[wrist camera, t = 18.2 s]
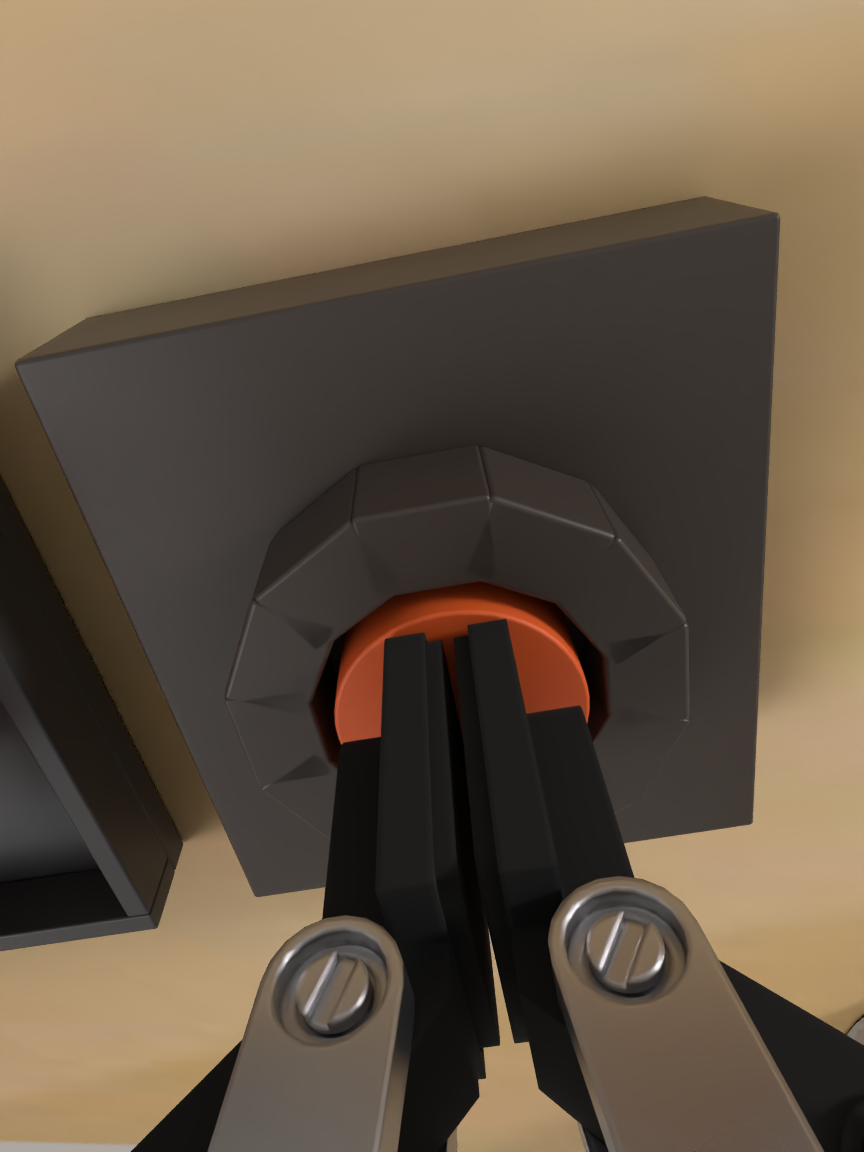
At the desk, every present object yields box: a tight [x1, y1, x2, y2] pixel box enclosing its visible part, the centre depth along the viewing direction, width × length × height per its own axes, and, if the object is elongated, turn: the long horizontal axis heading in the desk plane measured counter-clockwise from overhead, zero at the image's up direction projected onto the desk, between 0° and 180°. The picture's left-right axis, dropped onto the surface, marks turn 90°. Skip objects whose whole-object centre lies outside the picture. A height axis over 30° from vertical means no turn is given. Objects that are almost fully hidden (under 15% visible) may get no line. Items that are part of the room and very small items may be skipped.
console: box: [15, 196, 780, 897], centre depth 13 cm, size 11×10×4 cm
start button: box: [334, 581, 590, 745], centre depth 12 cm, size 4×4×2 cm
